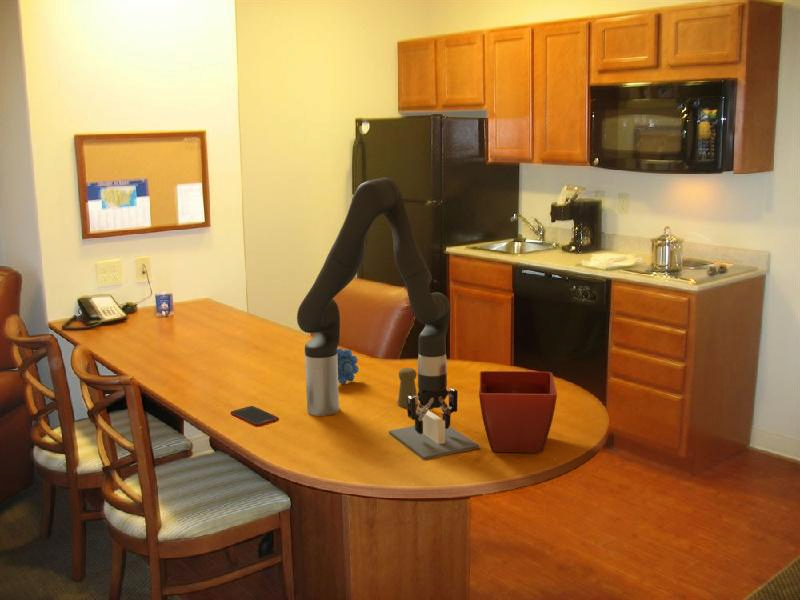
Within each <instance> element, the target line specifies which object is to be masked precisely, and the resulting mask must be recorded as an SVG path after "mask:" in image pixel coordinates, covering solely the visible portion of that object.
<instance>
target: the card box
mask: <svg viewBox="0 0 800 600" xmlns="http://www.w3.org/2000/svg"><path fill="white" fill-rule="evenodd" d="M422 421H423V434H424V435H426V436H427V437H429V438H430V439H431V440H433V441H434V442H436V443H437V444H442V443H445V421H444V420H443V419H442V418H441V417H439V416H438V415H437V414H435V413H434V412H432V411H430V410H429V409H428V411H427V413H426V414H425V415H424V417H423V419H422Z"/></svg>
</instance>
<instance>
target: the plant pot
mask: <svg viewBox="0 0 800 600" xmlns="http://www.w3.org/2000/svg"><path fill="white" fill-rule="evenodd" d="M478 387H479V388H478V395H479V397H478V398H479V404H480V411H481V415H482V416H481V417H482V420H483V421H482V422H483V426H484V431H485V434H486V436H487V440H488V444H489V447H490V450H491V451H492V452H494V453H495V452H496V453H497V452H498V453H531V454H532V453H535V454H536V453H542V452H543V450H544V448H545V445H546V442H547V439H548V437H549V433H550V431H551V426H552V423H553V419H554V414H555V409H556V406H557V405H556V404H557V397H558V392H557V389H556V384H555V379H554V374H553V372H551V371H530V370H529V371H526V370H524V371H523V370H522V371H521V370H519V371H518V370H481V371H479V386H478Z"/></svg>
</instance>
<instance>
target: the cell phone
mask: <svg viewBox="0 0 800 600" xmlns="http://www.w3.org/2000/svg"><path fill="white" fill-rule="evenodd" d="M230 415H231V416H232V417H235V418H238V419H239V420H241V421H243V422H246V423H248V424H250V425H252V426H253V427H257V426H259V427H262V425H263V426H265V424H266V425H268V424H272V422H273V423H275V421H276V422H278V420H279V421H280V417H279V416H276V415H274V414H272V413H269V412H267V411H266V410H263V409H260V408H259V407H256V406H254V405H250V406H245V407H241V408H239V409H234V410H231V411H230Z"/></svg>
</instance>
